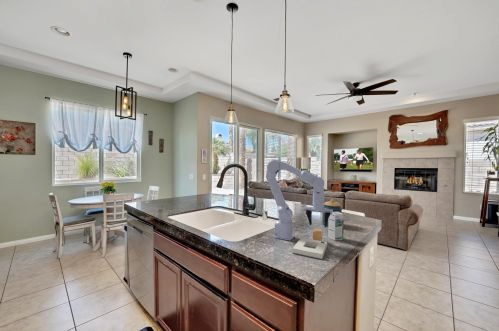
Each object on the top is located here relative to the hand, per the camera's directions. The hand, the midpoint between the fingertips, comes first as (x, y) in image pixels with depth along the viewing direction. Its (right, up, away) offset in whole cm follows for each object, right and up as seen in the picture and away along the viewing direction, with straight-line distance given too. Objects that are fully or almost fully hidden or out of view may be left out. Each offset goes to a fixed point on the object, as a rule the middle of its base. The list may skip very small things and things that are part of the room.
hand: (317, 225), depth 113 cm
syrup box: (+12, -9, +5) cm, 15 cm away
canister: (+20, -9, +32) cm, 39 cm away
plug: (0, -9, 0) cm, 9 cm away
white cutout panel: (-7, -9, -11) cm, 16 cm away
